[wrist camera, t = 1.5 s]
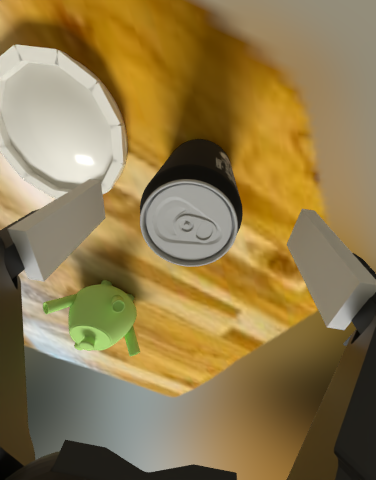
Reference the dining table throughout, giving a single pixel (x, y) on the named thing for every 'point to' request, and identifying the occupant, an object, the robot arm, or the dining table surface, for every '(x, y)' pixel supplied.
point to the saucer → (58, 121)
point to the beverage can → (192, 206)
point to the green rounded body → (99, 317)
